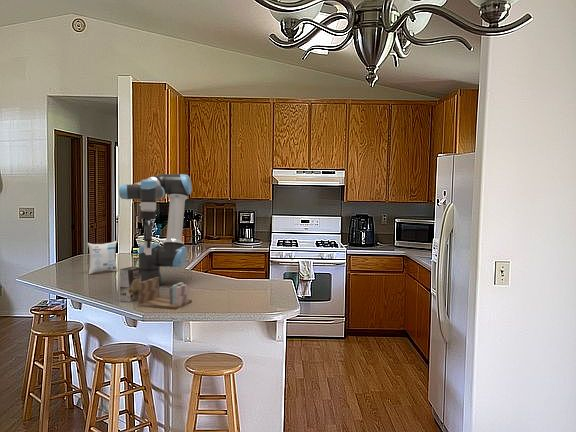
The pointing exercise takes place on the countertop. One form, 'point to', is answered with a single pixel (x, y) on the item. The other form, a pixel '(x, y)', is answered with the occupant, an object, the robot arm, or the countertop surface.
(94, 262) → the pouch
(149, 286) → the shelf
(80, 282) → the countertop surface
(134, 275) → the coffee box
